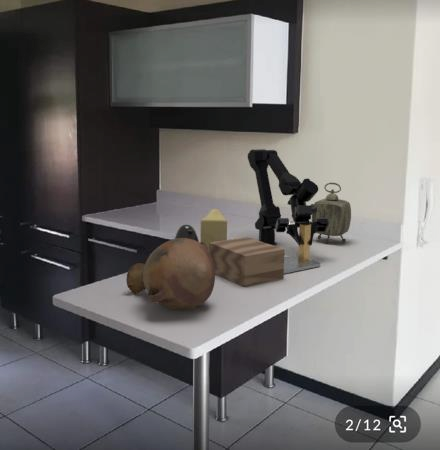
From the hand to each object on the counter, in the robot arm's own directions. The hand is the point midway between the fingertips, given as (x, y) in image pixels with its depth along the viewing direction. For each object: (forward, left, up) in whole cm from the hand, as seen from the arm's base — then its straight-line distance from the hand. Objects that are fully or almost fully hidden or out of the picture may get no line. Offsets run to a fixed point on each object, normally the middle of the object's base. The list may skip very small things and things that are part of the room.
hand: (305, 245), depth 198 cm
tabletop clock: (-19, +32, -7) cm, 38 cm away
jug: (+8, -61, -7) cm, 62 cm away
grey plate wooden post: (-1, -10, -7) cm, 13 cm away
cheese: (-33, -17, -7) cm, 38 cm away
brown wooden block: (-1, -26, -7) cm, 27 cm away
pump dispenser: (-19, -38, -7) cm, 43 cm away
